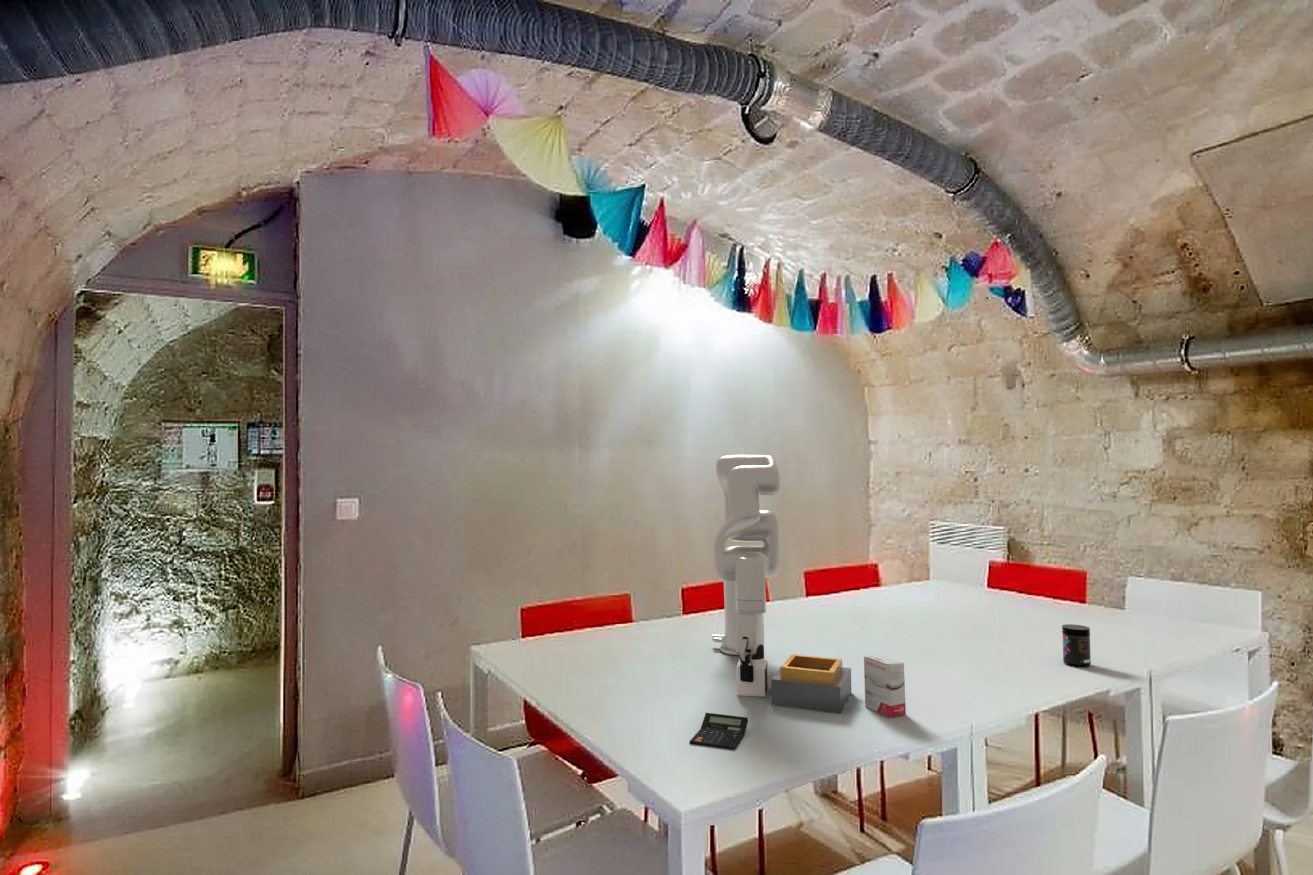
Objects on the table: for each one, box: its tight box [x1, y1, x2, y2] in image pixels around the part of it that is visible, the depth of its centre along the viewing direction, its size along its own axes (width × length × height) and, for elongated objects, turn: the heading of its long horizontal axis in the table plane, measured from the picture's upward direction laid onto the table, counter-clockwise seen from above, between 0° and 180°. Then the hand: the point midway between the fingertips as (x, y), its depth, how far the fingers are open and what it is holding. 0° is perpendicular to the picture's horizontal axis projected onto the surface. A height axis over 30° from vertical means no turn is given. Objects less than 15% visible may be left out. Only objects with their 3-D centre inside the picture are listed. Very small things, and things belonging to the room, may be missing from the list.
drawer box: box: [770, 653, 852, 715], centre depth 174 cm, size 16×18×8 cm
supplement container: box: [1061, 623, 1092, 668], centre depth 199 cm, size 7×7×10 cm
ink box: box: [863, 654, 907, 718], centre depth 164 cm, size 9×5×12 cm, turn 25°
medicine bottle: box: [735, 643, 769, 698], centre depth 178 cm, size 7×7×12 cm
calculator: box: [689, 712, 749, 751], centre depth 149 cm, size 9×12×3 cm
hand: (751, 676), depth 178 cm, fingers closed on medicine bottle, 8 cm apart
